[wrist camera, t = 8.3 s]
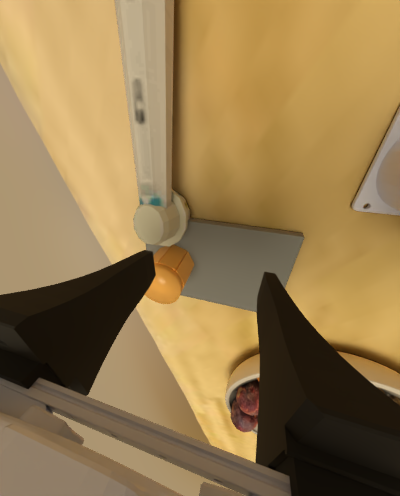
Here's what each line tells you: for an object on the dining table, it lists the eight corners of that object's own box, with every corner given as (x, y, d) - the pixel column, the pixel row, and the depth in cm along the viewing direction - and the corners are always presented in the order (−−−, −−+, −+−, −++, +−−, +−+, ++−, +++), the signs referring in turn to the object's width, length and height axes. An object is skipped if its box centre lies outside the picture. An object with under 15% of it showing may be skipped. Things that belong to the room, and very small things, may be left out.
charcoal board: (302, 232, 18) (314, 255, 15) (273, 310, 25) (276, 340, 21) (145, 212, 22) (123, 226, 18) (154, 284, 28) (139, 305, 24)
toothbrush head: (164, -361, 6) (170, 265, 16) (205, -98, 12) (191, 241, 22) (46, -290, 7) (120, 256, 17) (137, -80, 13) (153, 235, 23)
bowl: (458, 341, 20) (555, 434, 14) (404, 443, 33) (441, 517, 27) (212, 331, 31) (201, 382, 25) (242, 411, 44) (241, 458, 37)
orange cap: (198, 255, 22) (185, 281, 18) (186, 282, 25) (173, 310, 21) (162, 239, 22) (141, 261, 18) (154, 267, 25) (134, 292, 21)
